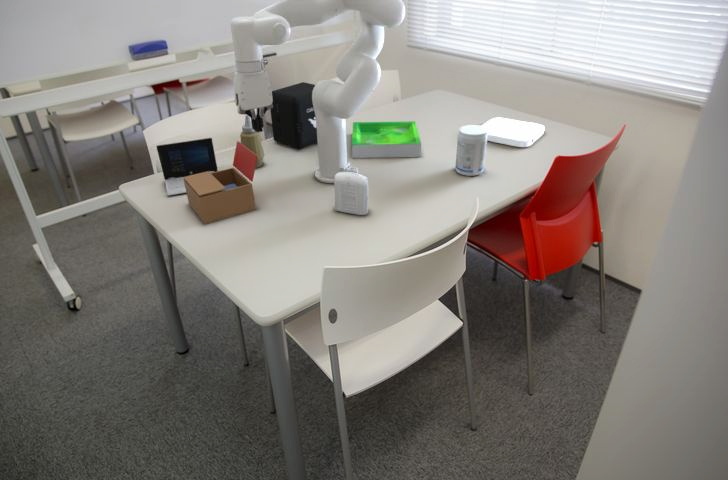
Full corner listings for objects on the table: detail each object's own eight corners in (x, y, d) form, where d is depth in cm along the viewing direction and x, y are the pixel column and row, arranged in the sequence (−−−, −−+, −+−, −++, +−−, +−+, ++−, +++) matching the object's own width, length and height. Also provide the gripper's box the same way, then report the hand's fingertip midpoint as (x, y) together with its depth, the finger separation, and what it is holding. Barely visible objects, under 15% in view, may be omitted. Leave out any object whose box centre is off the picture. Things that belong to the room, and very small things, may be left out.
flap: (232, 165, 160) (233, 165, 160) (251, 181, 150) (252, 181, 150) (237, 140, 157) (238, 141, 158) (256, 155, 147) (257, 156, 147)
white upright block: (370, 210, 153) (370, 172, 146) (365, 217, 149) (364, 178, 142) (338, 205, 156) (337, 167, 149) (333, 211, 153) (331, 173, 146)
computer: (493, 122, 216) (494, 116, 214) (545, 132, 205) (547, 125, 203) (471, 138, 201) (472, 131, 200) (526, 149, 190) (527, 142, 189)
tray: (420, 156, 186) (421, 143, 184) (352, 157, 187) (351, 144, 184) (414, 133, 207) (415, 121, 204) (353, 134, 208) (353, 122, 205)
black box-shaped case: (298, 152, 193) (294, 99, 182) (273, 143, 201) (267, 92, 190) (335, 137, 205) (333, 86, 194) (309, 130, 213) (306, 80, 202)
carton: (237, 191, 166) (233, 164, 160) (255, 209, 155) (251, 181, 150) (189, 204, 159) (182, 177, 153) (205, 224, 148) (198, 195, 143)
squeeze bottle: (260, 170, 180) (254, 119, 169) (239, 168, 181) (231, 118, 171) (268, 161, 186) (262, 112, 176) (247, 160, 188) (240, 111, 177)
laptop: (167, 197, 163) (158, 158, 156) (165, 182, 173) (155, 145, 166) (224, 187, 168) (217, 149, 161) (218, 173, 178) (211, 137, 171)
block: (236, 197, 161) (234, 183, 158) (242, 203, 157) (240, 189, 154) (221, 201, 159) (218, 187, 156) (227, 208, 155) (224, 193, 152)
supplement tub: (473, 163, 180) (478, 123, 172) (488, 174, 172) (494, 131, 164) (449, 168, 177) (453, 126, 169) (463, 178, 170) (468, 136, 162)
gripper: (269, 60, 147) (275, 122, 157) (219, 67, 141) (229, 132, 151) (280, 65, 142) (286, 129, 152) (229, 73, 135) (239, 139, 146)
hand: (258, 130), depth 151 cm, fingers closed
